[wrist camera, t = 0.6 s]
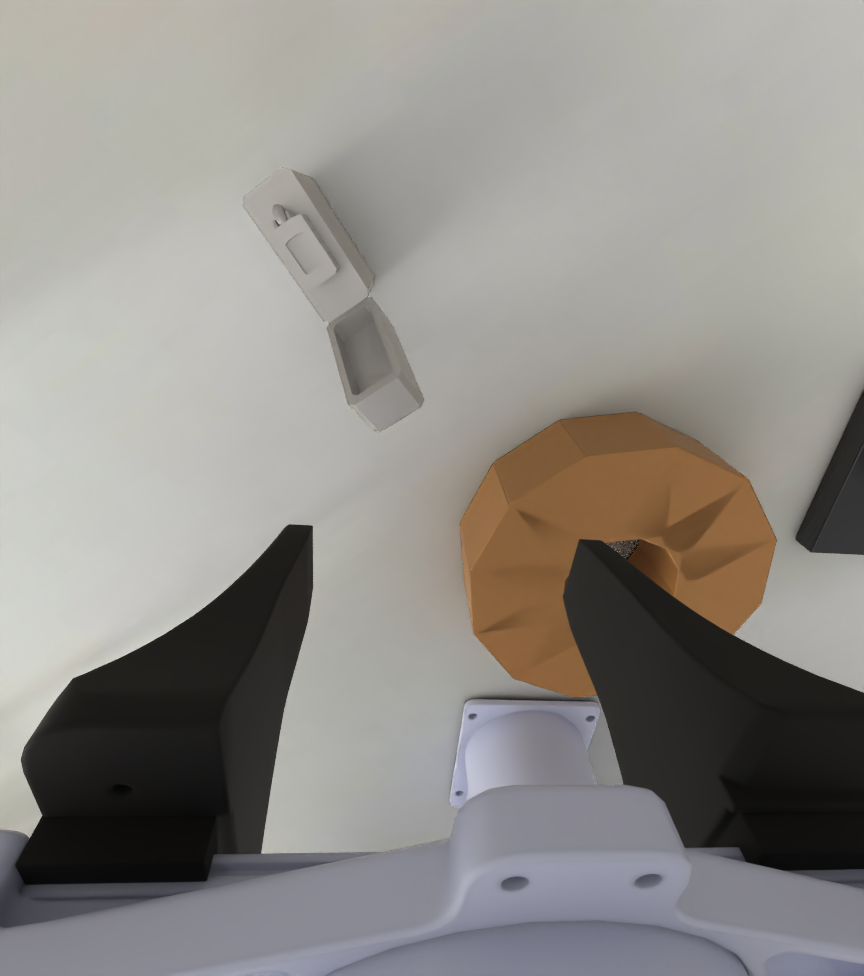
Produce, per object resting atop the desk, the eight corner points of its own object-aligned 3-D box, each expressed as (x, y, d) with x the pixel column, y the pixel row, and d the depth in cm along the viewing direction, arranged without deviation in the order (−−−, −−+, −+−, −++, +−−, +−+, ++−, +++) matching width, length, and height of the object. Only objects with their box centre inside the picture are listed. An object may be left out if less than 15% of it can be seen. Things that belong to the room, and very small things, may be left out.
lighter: (271, 203, 19) (193, 195, 12) (310, 174, 19) (253, 148, 12) (383, 369, 22) (374, 442, 15) (418, 346, 22) (426, 410, 14)
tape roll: (776, 478, 25) (837, 520, 22) (624, 663, 30) (654, 723, 27) (545, 368, 22) (573, 396, 19) (419, 594, 27) (421, 650, 24)
